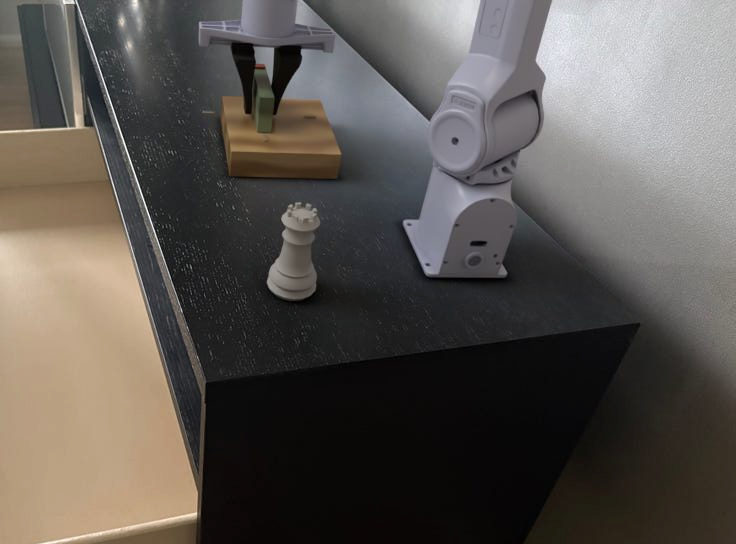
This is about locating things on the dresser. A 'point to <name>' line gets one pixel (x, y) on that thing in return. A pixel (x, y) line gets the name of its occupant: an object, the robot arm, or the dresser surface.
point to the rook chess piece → (295, 255)
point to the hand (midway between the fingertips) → (260, 111)
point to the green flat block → (262, 99)
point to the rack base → (280, 141)
